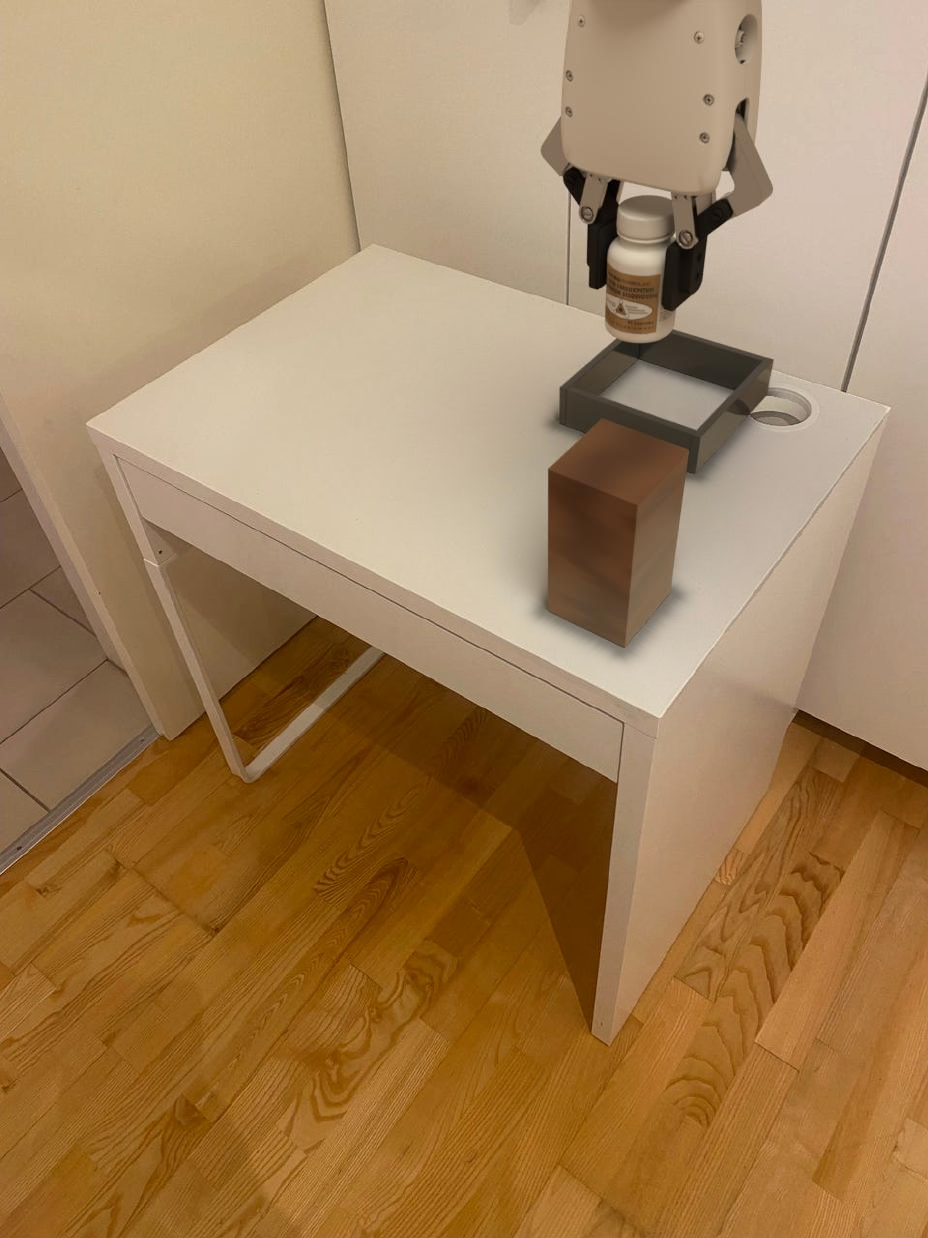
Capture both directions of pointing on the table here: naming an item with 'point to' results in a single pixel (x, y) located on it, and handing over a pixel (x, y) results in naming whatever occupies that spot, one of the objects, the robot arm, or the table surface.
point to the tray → (678, 354)
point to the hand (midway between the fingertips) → (642, 287)
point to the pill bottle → (639, 270)
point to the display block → (613, 529)
